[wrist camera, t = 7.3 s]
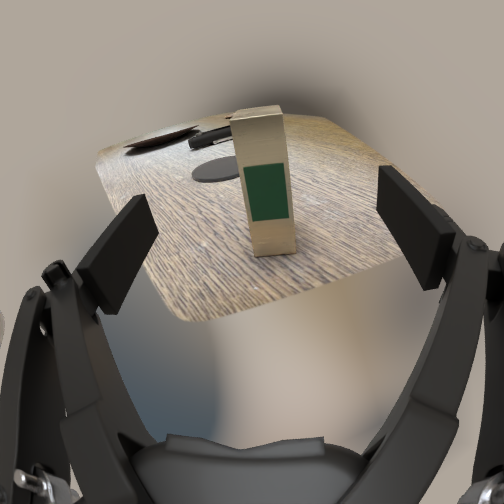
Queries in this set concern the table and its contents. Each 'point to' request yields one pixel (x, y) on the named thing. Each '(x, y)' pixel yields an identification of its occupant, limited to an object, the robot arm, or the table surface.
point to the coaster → (217, 170)
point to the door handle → (211, 137)
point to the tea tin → (265, 178)
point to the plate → (160, 139)
